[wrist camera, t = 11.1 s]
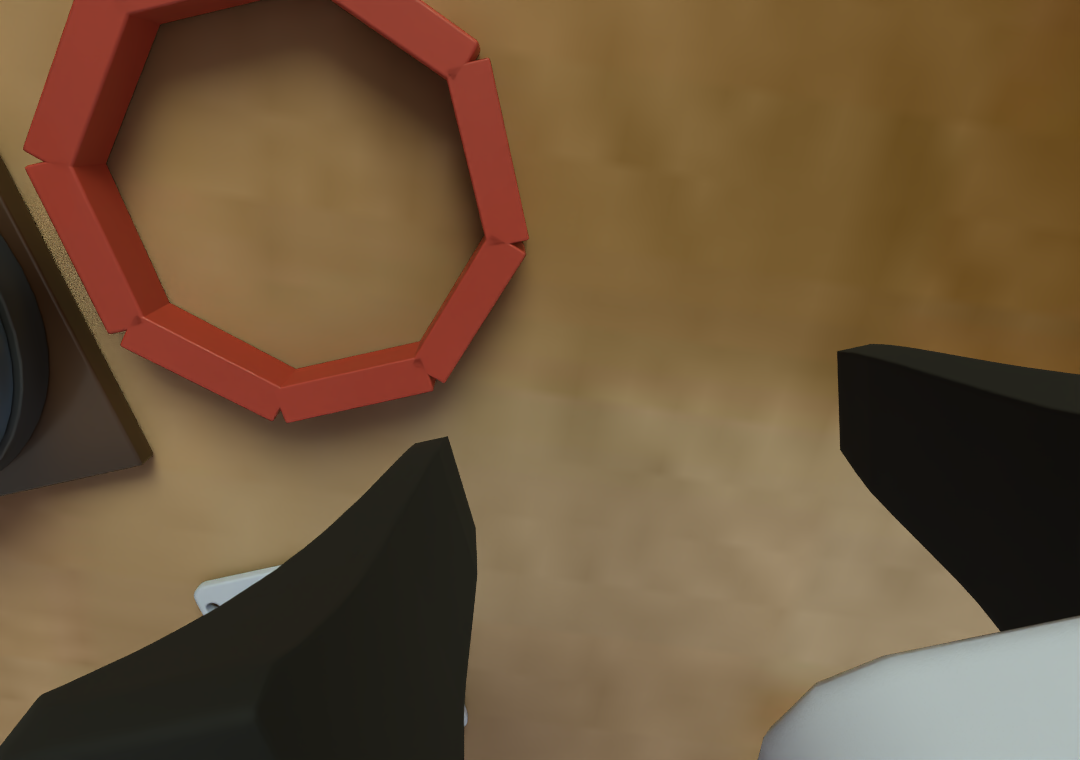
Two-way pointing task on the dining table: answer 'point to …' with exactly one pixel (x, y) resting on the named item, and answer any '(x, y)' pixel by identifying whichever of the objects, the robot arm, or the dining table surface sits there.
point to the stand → (52, 371)
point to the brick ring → (128, 275)
